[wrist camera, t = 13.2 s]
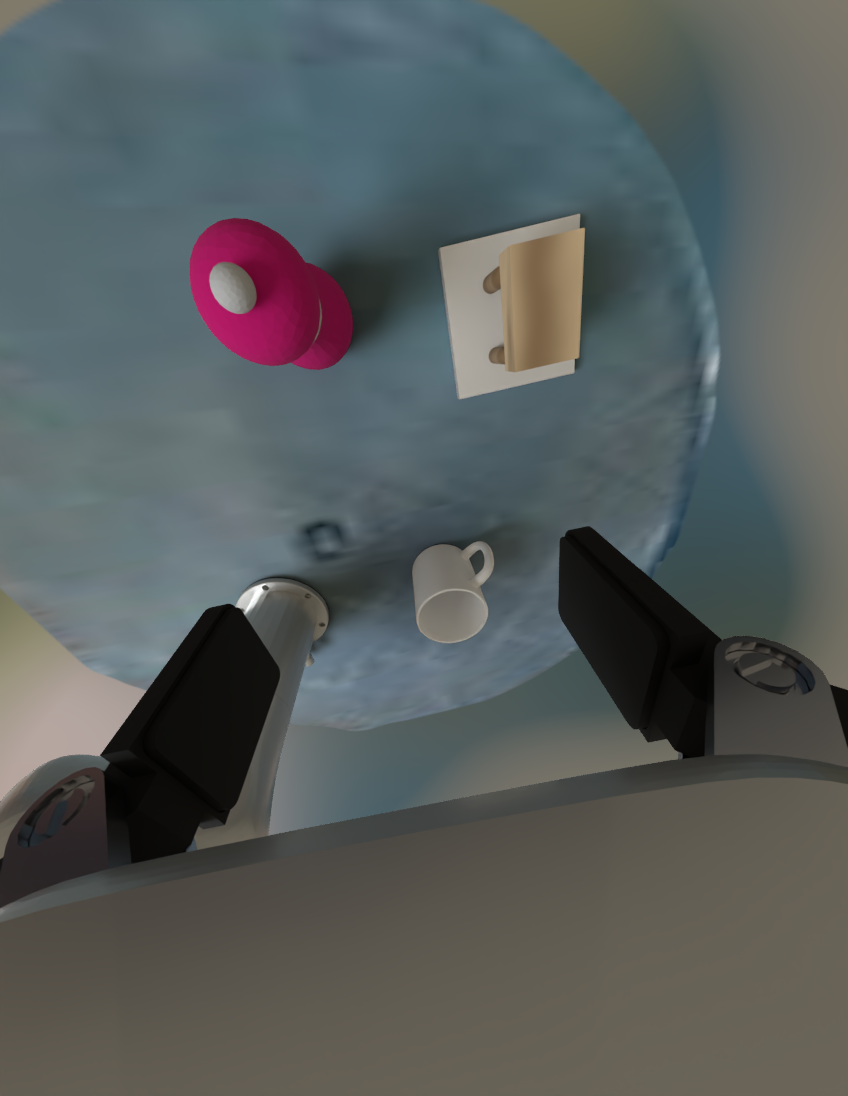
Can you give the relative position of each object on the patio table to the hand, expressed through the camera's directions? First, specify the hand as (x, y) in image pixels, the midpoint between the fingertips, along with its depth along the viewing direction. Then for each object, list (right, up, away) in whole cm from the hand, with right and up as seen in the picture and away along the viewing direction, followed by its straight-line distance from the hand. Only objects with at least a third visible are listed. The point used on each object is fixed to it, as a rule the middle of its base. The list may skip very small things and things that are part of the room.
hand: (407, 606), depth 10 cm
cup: (+4, 0, +36) cm, 36 cm away
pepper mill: (-9, +23, +21) cm, 32 cm away
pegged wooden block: (+9, +23, +21) cm, 33 cm away
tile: (+9, +24, +22) cm, 34 cm away
